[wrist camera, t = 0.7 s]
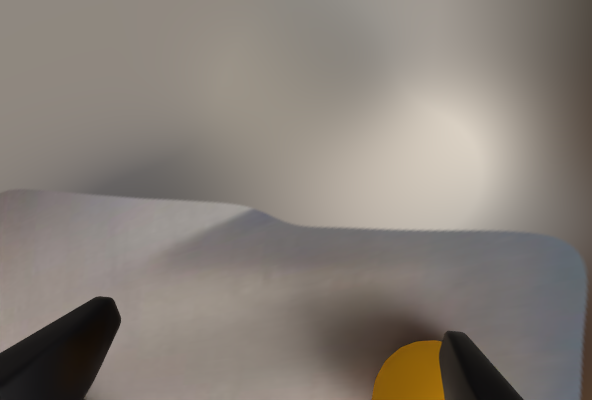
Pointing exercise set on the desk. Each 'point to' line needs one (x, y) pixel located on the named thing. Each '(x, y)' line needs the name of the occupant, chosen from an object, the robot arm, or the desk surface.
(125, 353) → the desk surface
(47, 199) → the desk surface
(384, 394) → the apple
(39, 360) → the robot arm
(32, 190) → the desk surface
